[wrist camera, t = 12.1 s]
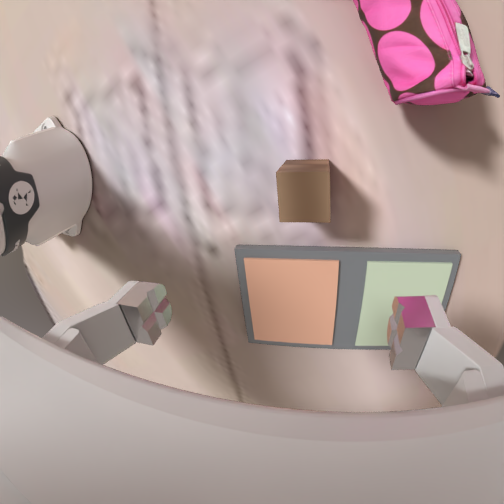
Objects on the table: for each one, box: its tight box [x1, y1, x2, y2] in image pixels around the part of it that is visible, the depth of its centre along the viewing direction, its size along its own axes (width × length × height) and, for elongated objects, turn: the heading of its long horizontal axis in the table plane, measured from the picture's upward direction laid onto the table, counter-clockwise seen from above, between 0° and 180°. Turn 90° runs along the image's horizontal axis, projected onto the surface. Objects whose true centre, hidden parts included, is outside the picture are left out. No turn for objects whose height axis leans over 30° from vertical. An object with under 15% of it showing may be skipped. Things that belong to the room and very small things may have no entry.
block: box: [276, 160, 330, 223], centre depth 23 cm, size 4×4×6 cm
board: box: [235, 245, 461, 349], centre depth 30 cm, size 25×14×1 cm, turn 96°
